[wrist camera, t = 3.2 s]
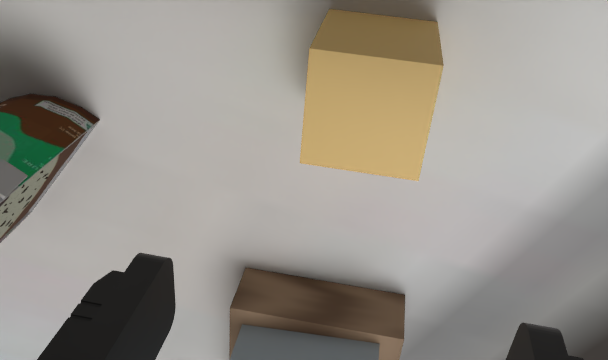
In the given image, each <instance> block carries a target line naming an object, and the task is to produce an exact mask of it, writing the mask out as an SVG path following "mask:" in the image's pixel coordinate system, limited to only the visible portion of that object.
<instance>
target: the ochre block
mask: <svg viewBox="0 0 608 360" xmlns="http://www.w3.org/2000/svg"><path fill="white" fill-rule="evenodd" d="M442 70H443V58H442V51H441V44H440V37H439V29H438V22H434V21H426V20H417V19H409V18H401V17H393V16H384V15H376V14H368V13H360V12H352V11H343V10H335V9H329V11H328V13H327V15H326V17H325V19H324V21H323V22H322V24H321V26H320V28H319V30H318V32H317V34H316V36H315V38H314V40H313V42H312V44H311V46H310V48H309V59H308V71H307V83H306V95H305V107H304V119H303V131H302V143H301V155H300V163H302V164H309V165H315V166H322V167H329V168H335V169H342V170H349V171H355V172H362V173H368V174H375V175H382V176H388V177H395V178H402V179H408V180H415V181H419V176H420V171H421V167H422V162H423V158H424V153H425V148H426V144H427V139H428V135H429V130H430V125H431V121H432V116H433V112H434V107H435V102H436V98H437V93H438V89H439V84H440V79H441V75H442Z"/></svg>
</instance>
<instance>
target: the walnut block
mask: <svg viewBox="0 0 608 360" xmlns="http://www.w3.org/2000/svg"><path fill="white" fill-rule="evenodd" d="M404 318H405V295H403V294H397V293H391V292H385V291H379V290H373V289H368V288H362V287H356V286H350V285H344V284H339V283H333V282H327V281H321V280H315V279H309V278H304V277H298V276H292V275H286V274H280V273H275V272H269V271H263V270H257V269H251V268H246V269H245V271H244V274H243V276H242V279H241V281H240V284H239V286H238V289H237V291H236V294H235V296H234V299H233V301H232V304H231V306H230V357H231V354H232V351H233V348H234V346H235V343H236V340H237V337H238V334H239V332H240V329H241V326H242V324H243V325H251V326H258V327H265V328H272V329H279V330H286V331H293V332H300V333H307V334H314V335H321V336H328V337H336V338H343V339H350V340H357V341H364V342H371V343H378V344H380V346H379V360H399V358H400V354H401V350H402V346H403V342H404Z"/></svg>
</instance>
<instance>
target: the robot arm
mask: <svg viewBox="0 0 608 360" xmlns="http://www.w3.org/2000/svg"><path fill="white" fill-rule="evenodd" d="M174 314H175V290H174V273H173V262H172V259H171V258H167V257H161V256H155V255H150V254H144V253H139V254H137V255H136V256H135V258H134V259H133V260H132V262H131V263H130V265H129V266H128V268H127V269H126V271H125V272H119V271H111V272H110V273H108V274H107V275H105V276H104V277H103V278H101V279H100V280H98V281H97V282H95V283H94V284H93V285H92V286H91V288H90V289H89V290H88V292H87V293H86V295H85V296H84V297H83V299H82V300H81V303H80V304H78V305H77V307H76V308H75V309H74V311H73V312H72V313H71V317H70V318H68V319H67V320H66V321H65V323H64V324H63V325H62V327H61V328H60V329H59V331H58V332H57V334H56V335H55V336H54V338H53V339H52V340H51V342H50V343H49V344H48V346H47V347H46V348H45V350H44V351H43V352H42V354H41V355H40V356H39V358H38V359H37V360H155V359H156V357H157V355H158V353H159V351H160V349H161V347H162V345H163V343H164V341H165V339H166V337H167V335H168V333H169V331H170V329H171V326H172V323H173V319H174ZM506 360H583V358H579V357H574V356H568V354H567V350H566V347H565V343H564V340H563V337H562V334H561V332H560V330H559V329H556V328H550V327H545V326H539V325H533V324H528V323H521V324H520V326H519V328H518V330H517V333H516V335H515V338H514V340H513V343H512V345H511V348H510V350H509V353H508V355H507V358H506Z"/></svg>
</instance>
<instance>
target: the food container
mask: <svg viewBox="0 0 608 360" xmlns="http://www.w3.org/2000/svg"><path fill="white" fill-rule="evenodd" d="M99 120H100V119H98V118H97V117H95V116H94V115H92V114H91V113H89V112H88V111H87V110H85V109H84V108H82V107H80V106H77V105H75V104H73V103H70V102H68V101H65V100H63V99H60V98H58V97H54V96H46V95H37V94H27V95H23V96H19V97H14V98H10V99H8V100H6V101H4V102H2V103H0V243H1V242H2V241H3V240H4V239H5V238H6V237H7V236H8V235H9V234H10V233H11V232H12V231H13V230H14V229H15V228H16V227H17V226H18V225H19V224H20V223H21V222H22V221H23V220H24V219H25V218H26V217H27V216H28V215H29V214H30V213H31V212H32V210H33V209H34V208H35V206H36V205H37V204H38V202H39V201H40V200H41V198H42V197H43V196H44V194H45V193H46V192H47V190H48V189H49V188H50V186H51V185H52V184H53V182H54V181H55V180H56V178H57V177H58V176H59V174H60V173H61V171H62V170H63V169H64V167H65V166H66V165H67V163H68V162H69V161H70V159H71V158H72V157H73V155H74V154H75V153H76V151H77V150H78V149H79V147H80V146H81V145H82V143H83V142H84V141H85V139H86V138H87V137H88V135H89V134H90V133H91V131H92V130H93V128H94V127H95V126H96V124H97V123H98V122H99Z"/></svg>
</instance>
